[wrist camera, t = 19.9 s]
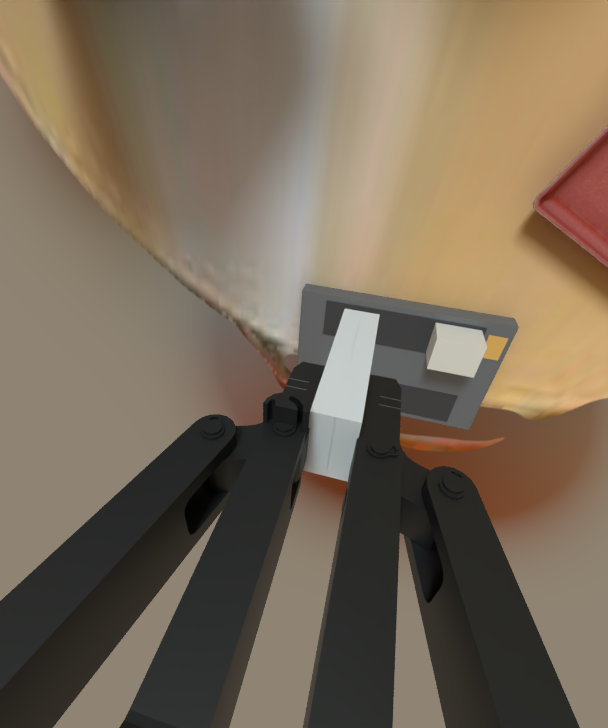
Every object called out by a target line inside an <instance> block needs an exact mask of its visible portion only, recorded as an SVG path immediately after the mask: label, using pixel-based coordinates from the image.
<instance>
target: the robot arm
mask: <svg viewBox="0 0 608 728" xmlns="http://www.w3.org/2000/svg"><path fill="white" fill-rule="evenodd" d="M379 316H380V314H374V313H368V312H363V311H357V310H351V309H344V312H343V315H342V318H341V321H340V324H339V327H338V330H337V333H336V336H335V339H334V342H333V345H332V348H331V351H330V354H329V357H328V360H327V363H326V366H323V365H318V364H313V363H308V362H301V363H300V364H299V365H297V366H296V367H295V368H294V369H293V371H292V374H291V376H290V379H289V380H288V382H287V385H286V387H285V389H284V391H283V393H278V394H274V395H272V396H270V397H268V398H267V399H266V401H265V402H264V403H263V410H264V411H263V423H260V424H257V425H250V426H235V424H234V422H233V421H232V420H231V419H230V418H228V417H227V416H223V415H208V416H205V417H202V418H201V419H199V420H198V421H196V422H195V423H194V424H193V425H192V426H191V427H190V428H188V429H187V430H186V431H185V432H184V433H183V434H182V435H181V436H180V437H178V438H177V439H176V440H175V441H174V442H173V443H172V444H171V445H170V446H169V447H168V448H167V449H165V450H164V451H163V452H162V453H161V454H160V455H159V456H158V457H157V458H156V459H155V460H153V462H151V463H150V464H149V465H148V466H147V467H146V468H145V469H144V470H143V471H141V472H140V473H139V474H138V475H137V476H136V477H135V478H134V479H133V480H132V481H131V482H129V483H128V484H127V485H126V486H125V487H124V488H123V489H122V490H121V491H120V492H119V493H118V494H117V495H115V496H114V497H113V498H112V499H111V500H110V501H109V502H108V503H107V504H106V505H104V506H103V507H102V508H101V509H100V510H99V511H98V512H97V513H96V514H95V515H94V516H93V517H91V518H90V519H89V520H88V521H87V522H86V523H85V524H84V525H83V526H82V527H81V528H79V529H78V530H77V531H76V532H75V533H74V534H73V535H72V536H71V537H70V538H69V539H67V540H66V541H65V542H64V543H63V544H62V545H61V546H60V547H59V548H58V549H57V550H55V552H53V553H52V554H51V555H50V556H49V557H48V558H47V559H46V560H45V561H44V562H43V563H41V564H40V565H39V566H38V567H37V568H36V569H35V570H34V571H33V572H32V573H30V574H29V575H28V576H27V577H26V578H25V579H24V580H23V581H22V582H21V583H20V584H18V586H16V587H15V588H14V589H13V590H12V591H11V592H10V593H9V594H8V595H7V596H5V597H4V598H3V599H2V600H1V601H0V728H53V727H54V725H55V724H56V723H57V721H58V720H59V719H60V718H61V716H62V715H63V714H64V712H65V711H66V710H67V708H68V707H69V706H70V705H71V703H72V702H73V701H74V700H75V698H76V697H77V696H78V694H79V693H80V692H81V691H82V689H83V688H84V687H85V685H86V684H87V683H88V682H89V680H90V679H91V678H92V676H93V675H94V674H95V672H96V671H97V670H98V668H100V666H101V665H102V664H103V662H104V661H105V660H106V659H107V657H108V656H109V655H110V653H111V652H112V651H113V649H114V648H115V647H116V645H117V644H118V643H119V642H120V641H121V639H122V638H123V637H124V635H125V634H126V633H127V632H128V630H129V629H130V628H131V626H132V625H133V624H134V622H135V621H136V620H137V619H138V618H139V616H140V615H141V614H142V612H143V611H144V610H145V609H146V607H147V606H148V604H149V603H150V602H151V601H152V599H153V598H154V597H155V596H156V594H157V593H158V592H159V591H160V589H161V588H162V587H163V585H164V584H165V583H166V582H167V580H168V579H169V578H170V576H171V575H172V574H173V573H174V571H175V570H176V569H177V567H178V566H179V565H180V564H181V562H182V561H183V560H184V558H185V557H186V556H187V555H188V553H189V552H190V551H191V549H192V548H193V547H194V546H195V544H196V543H197V542H198V541H199V539H200V538H201V537H202V535H203V534H204V533H205V531H206V530H207V529H208V527H209V526H210V525H211V524H212V523H213V521H214V520H215V519H216V517H217V516H218V515H219V514H220V512H221V511H222V510H223V511H222V513H221V515H220V517H219V519H218V522H217V523H216V526H215V528H214V530H213V532H212V534H211V536H210V539H209V541H208V543H207V545H206V547H205V549H204V551H203V553H202V556H201V558H200V560H199V562H198V564H197V566H196V569H195V571H194V573H193V575H192V577H191V579H190V581H189V584H188V586H187V588H186V590H185V592H184V594H183V596H182V599H181V601H180V603H179V605H178V608H177V609H176V612H175V614H174V616H173V618H172V620H171V622H170V624H169V626H168V629H167V631H166V633H165V635H164V637H163V639H162V641H161V644H160V646H159V648H158V650H157V652H156V654H155V657H154V659H153V661H152V663H151V665H150V667H149V669H148V671H147V674H146V676H145V678H144V680H143V682H142V684H141V686H140V689H139V691H138V693H137V695H136V697H135V699H134V701H133V704H132V706H131V708H130V710H129V712H128V714H127V716H126V718H125V720H124V721H123V723H122V724H121V726H120V728H229V726H230V723H231V719H232V716H233V712H234V709H235V706H236V702H237V699H238V695H239V692H240V689H241V685H242V682H243V678H244V675H245V671H246V668H247V665H248V661H249V658H250V654H251V651H252V648H253V644H254V641H255V638H256V634H257V631H258V627H259V624H260V620H261V617H262V614H263V610H264V607H265V604H266V600H267V597H268V593H269V590H270V587H271V583H272V580H273V576H274V573H275V570H276V566H277V563H278V559H279V556H280V553H281V549H282V545H283V542H284V539H285V535H286V532H287V529H288V525H289V522H290V519H291V515H292V512H293V508H294V505H295V501H296V498H297V494H298V491H299V488H300V483H301V475H302V472H303V468H304V471H308V472H312V473H316V474H320V475H324V476H328V477H332V478H336V479H340V480H344V481H348V483H347V488H346V493H345V497H344V501H343V506H342V514H341V519H340V525H339V530H338V536H337V541H336V547H335V552H334V558H333V563H332V569H331V575H330V580H329V586H328V591H327V597H326V602H325V608H324V614H323V619H322V625H321V630H320V636H319V641H318V647H317V652H316V658H315V663H314V669H313V675H312V680H311V686H310V691H309V697H308V702H307V708H306V714H305V719H304V725H303V728H392V722H393V696H394V695H393V694H394V669H395V642H396V613H397V586H398V561H399V533H402V534H403V535H404V539H405V543H406V548H407V553H408V557H409V561H410V566H411V571H412V575H413V580H414V584H415V589H416V594H417V598H418V603H419V607H420V612H421V616H422V621H423V625H424V630H425V635H426V639H427V643H428V648H429V652H430V657H431V662H432V666H433V671H434V675H435V680H436V685H437V689H438V694H439V698H440V703H441V707H442V712H443V716H444V721H445V725H446V728H580V727H579V725H578V723H577V720H576V718H575V716H574V713H573V711H572V709H571V706H570V704H569V702H568V699H567V697H566V695H565V693H564V690H563V688H562V686H561V683H560V681H559V679H558V677H557V674H556V672H555V669H554V667H553V665H552V662H551V660H550V658H549V655H548V653H547V651H546V648H545V646H544V644H543V641H542V639H541V637H540V634H539V632H538V630H537V627H536V625H535V623H534V621H533V618H532V616H531V614H530V612H529V609H528V607H527V604H526V602H525V600H524V598H523V595H522V593H521V591H520V588H519V586H518V583H517V581H516V579H515V577H514V574H513V572H512V569H511V567H510V565H509V562H508V560H507V558H506V555H505V553H504V551H503V548H502V546H501V544H500V542H499V539H498V537H497V535H496V532H495V530H494V528H493V525H492V523H491V521H490V518H489V516H488V514H487V511H486V509H485V507H484V504H483V502H482V500H481V498H480V495H479V493H478V490H477V488H476V486H475V485H474V483H473V482H472V480H471V479H470V478H469V477H467V476H466V475H465V474H464V473H463V472H460V471H459V470H456V469H455V468H451V467H445V466H442V467H436V468H434V469H432V470H431V471H430V470H428V469H426V468H424V467H422V466H420V465H418V464H417V463H415V462H413V461H412V460H411V459H410V458H408V457H407V456H406V454H405V453H404V452H403V450H402V448H401V446H400V440H399V439H400V416H401V410H400V409H401V393H402V389H401V387H400V385H399V384H398V382H397V380H396V379H392V378H387V377H382V376H377V375H372V374H370V371H371V365H372V359H373V353H374V346H375V340H376V334H377V328H378V322H379Z"/></svg>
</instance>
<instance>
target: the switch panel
mask: <svg viewBox="0 0 608 728" xmlns="http://www.w3.org/2000/svg"><path fill="white" fill-rule="evenodd" d="M344 309H351V310H357V311H363V312H368V313H374V314H380V316H379V322H378V328H377V334H376V340H375V346H374V353H373V359H372V365H371V371H370V374H372V375H377V376H382V377H387V378H392V379H396V380H397V382H398V384H399V385H400V387H401V389H402V393H401V409H400V410H401V416H405V417H410V418H415V419H419V420H424V421H429V422H434V423H438V424H443V425H447V426H452V427H457V428H461V429H466V430H468V429H469V427H470V425H471V423H472V421H473V419H474V417H475V415H476V413H477V411H478V409H479V407H480V405H481V403H482V401H483V399H484V397H485V395H486V393H487V391H488V389H489V387H490V385H491V383H492V381H493V379H494V377H495V375H496V373H497V371H498V369H499V367H500V365H501V363H502V360H503V358H504V356H505V354H506V352H507V350H508V348H509V346H510V344H511V342H512V340H513V338H514V336H515V334H516V332H517V330H518V328H519V327H518V325H517V323H516V320H515V319H514V318H508V317H502V316H496V315H490V314H484V313H478V312H472V311H466V310H460V309H454V308H448V307H442V306H436V305H430V304H424V303H418V302H412V301H406V300H400V299H394V298H388V297H382V296H376V295H370V294H364V293H358V292H352V291H346V290H340V289H334V288H328V287H322V286H316V285H310V284H306V285H305V287H304V289H303V290H302V303H301V318H300V332H299V347H298V362H297V365H299V364H300V363H301V362H308V363H313V364H318V365H323V366H326V363H327V360H328V357H329V354H330V351H331V348H332V345H333V342H334V339H335V336H336V333H337V330H338V327H339V324H340V321H341V318H342V315H343V312H344ZM435 323H442V324H448V325H453V326H459V327H465V328H471V329H476V330H482V331H483V335H484V338H485V341H486V345H487V349H486V351H485V354H484V356H483V358H482V360H481V363H480V365H479V367H478V369H477V372H476V374H475V376H474V378H472V377H467V376H462V375H457V374H452V373H446V372H441V371H436V370H431V369H427V361H426V350H427V347H428V344H429V341H430V338H431V335H432V332H433V329H434V326H435Z"/></svg>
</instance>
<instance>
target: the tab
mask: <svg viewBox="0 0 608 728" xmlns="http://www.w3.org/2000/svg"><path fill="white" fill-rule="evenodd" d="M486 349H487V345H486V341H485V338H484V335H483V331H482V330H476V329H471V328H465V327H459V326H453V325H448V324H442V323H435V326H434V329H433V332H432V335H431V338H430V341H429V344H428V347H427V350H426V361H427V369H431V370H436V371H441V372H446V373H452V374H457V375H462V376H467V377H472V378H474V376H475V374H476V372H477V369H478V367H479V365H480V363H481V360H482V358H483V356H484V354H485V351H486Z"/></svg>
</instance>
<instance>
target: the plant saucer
mask: <svg viewBox="0 0 608 728" xmlns="http://www.w3.org/2000/svg"><path fill="white" fill-rule="evenodd" d="M533 207H534V209H535V210H536V211H537V212H538V213H539V214H540V215H542V216H543V217H544V218H546V219H547V220H548V221H549V222H551V223H552V224H553V225H554V226H556V227H557V228H558V229H559V230H561V231H562V232H563V233H564V234H566V235H567V236H568V237H570V238H571V239H572V240H573V241H575V242H576V243H577V244H578V245H579V246H580V247H582V248H583V249H584V250H586V251H587V252H589V253H590V254H591V255H592V256H594V257H595V258H596V259H597V260H598V261H600V262H601V263H602V264H604V265H605V266H606V267H607V268H608V125H607V126H606V127H605V128H604V129H603V130H602V131H601V132H600V134H599V135H598V136H597V137H596V138H595V139H594V140H593V141H591V142H590V143H589V145H588V146H587V147H586V148H585V149H584V150H583V151H582V152H581V153H580V154H579V155H578V156H577V157H576V158H575V159H574V160H573V161H572V162H571V163H570V164H569V165H568V166H567V167H566V168H565V169H564V170H563V171H562V172H561V173H560V174H559V175H558V176H557V177H556V178H555V179H554V180H553V181H552V182H551V183H550V184H549V185H548V186H547V187H546V188H545V189H544V190H543V191H542V192H541V193H540V194H539V195H538V196H537V197H536V199H535V201H534V203H533Z"/></svg>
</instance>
